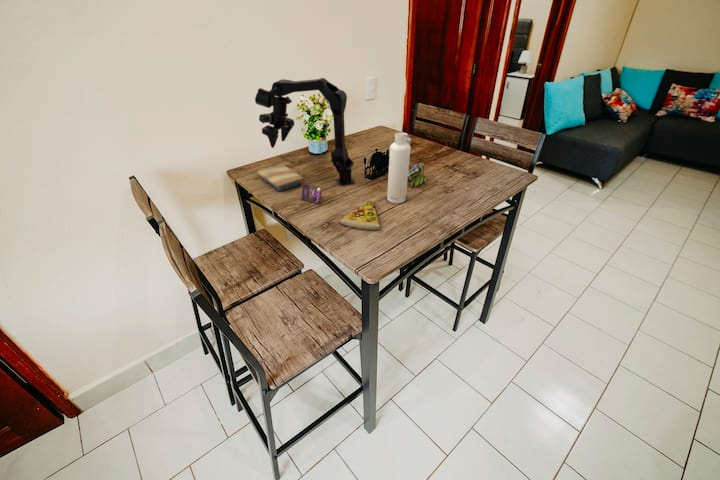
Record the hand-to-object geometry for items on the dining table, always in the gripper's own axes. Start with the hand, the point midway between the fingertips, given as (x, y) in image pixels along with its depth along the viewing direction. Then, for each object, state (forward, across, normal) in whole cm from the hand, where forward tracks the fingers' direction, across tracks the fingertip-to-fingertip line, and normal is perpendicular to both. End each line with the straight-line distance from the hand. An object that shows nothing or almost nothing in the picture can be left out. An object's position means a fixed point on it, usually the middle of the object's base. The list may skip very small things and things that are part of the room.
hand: (277, 144), depth 157 cm
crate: (+14, +8, +7) cm, 18 cm away
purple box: (+10, +18, +28) cm, 35 cm away
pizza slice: (+4, +23, +53) cm, 58 cm away
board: (+11, +8, +6) cm, 15 cm away
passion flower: (+1, -13, +66) cm, 67 cm away
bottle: (+2, +5, +61) cm, 61 cm away
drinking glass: (+3, -41, +53) cm, 67 cm away
